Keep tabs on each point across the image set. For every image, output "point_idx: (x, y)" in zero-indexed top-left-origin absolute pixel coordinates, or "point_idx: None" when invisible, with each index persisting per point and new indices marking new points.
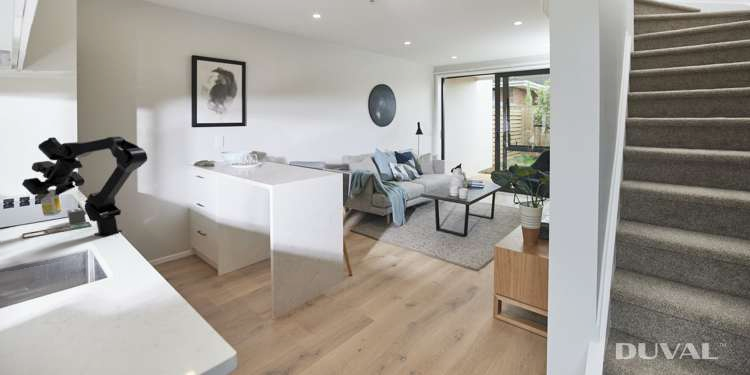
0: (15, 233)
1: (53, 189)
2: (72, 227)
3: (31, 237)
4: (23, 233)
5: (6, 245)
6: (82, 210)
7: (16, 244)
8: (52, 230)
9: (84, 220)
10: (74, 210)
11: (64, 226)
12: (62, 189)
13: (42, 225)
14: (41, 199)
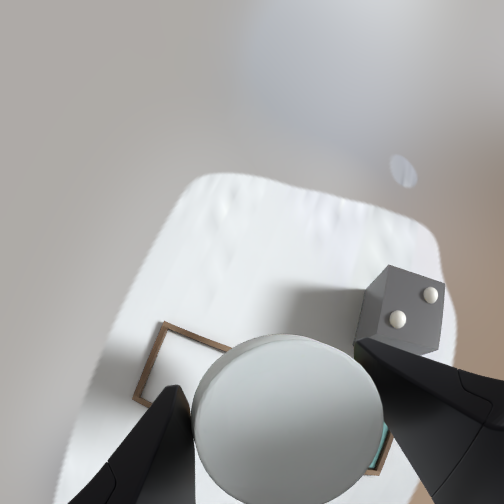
0: (170, 264)
1: (371, 432)
2: None
3: None
4: (167, 323)
5: (77, 418)
6: (434, 345)
7: (95, 445)
8: None
9: None
10: (412, 300)
11: None
12: (436, 481)
13: (281, 233)
14: (192, 427)
